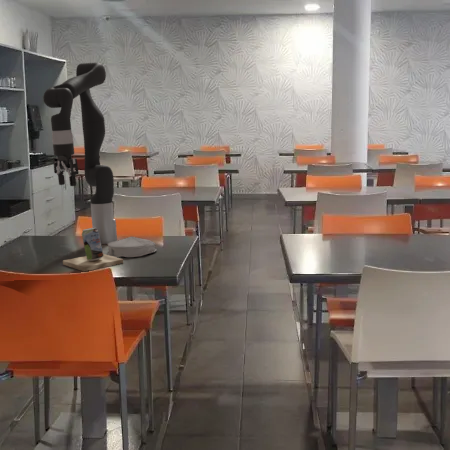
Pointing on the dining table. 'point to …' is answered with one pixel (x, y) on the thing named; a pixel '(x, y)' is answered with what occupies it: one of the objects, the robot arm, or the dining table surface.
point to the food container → (131, 247)
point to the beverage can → (92, 244)
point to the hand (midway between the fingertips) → (67, 185)
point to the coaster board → (92, 262)
